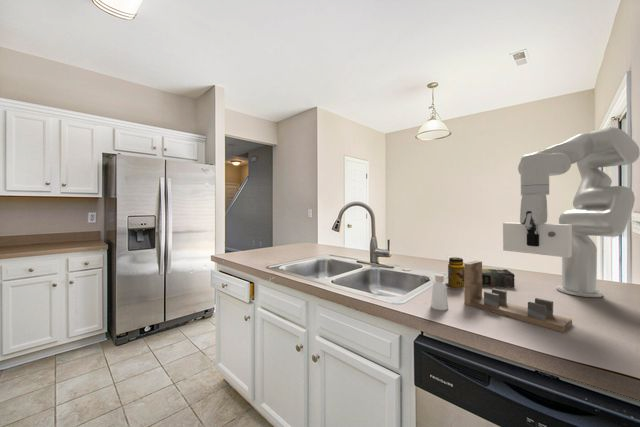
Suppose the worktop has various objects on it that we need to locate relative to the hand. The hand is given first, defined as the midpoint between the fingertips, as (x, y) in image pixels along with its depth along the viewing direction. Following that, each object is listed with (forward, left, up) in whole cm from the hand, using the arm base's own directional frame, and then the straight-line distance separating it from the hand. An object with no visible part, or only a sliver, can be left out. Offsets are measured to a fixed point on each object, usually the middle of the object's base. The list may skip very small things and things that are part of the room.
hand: (535, 244), depth 91 cm
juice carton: (-13, -22, -21) cm, 33 cm away
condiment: (+2, -27, -21) cm, 34 cm away
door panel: (0, 0, -3) cm, 3 cm away
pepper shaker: (+28, -17, -21) cm, 39 cm away
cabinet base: (+14, 0, -20) cm, 25 cm away
